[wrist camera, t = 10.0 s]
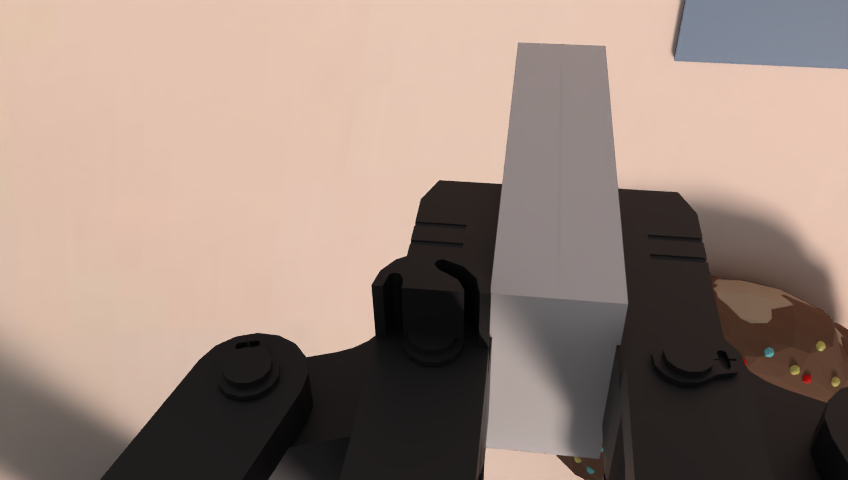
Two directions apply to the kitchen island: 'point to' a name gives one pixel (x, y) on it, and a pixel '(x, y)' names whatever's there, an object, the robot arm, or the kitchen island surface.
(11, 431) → the kitchen island surface
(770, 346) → the donut
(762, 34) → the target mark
